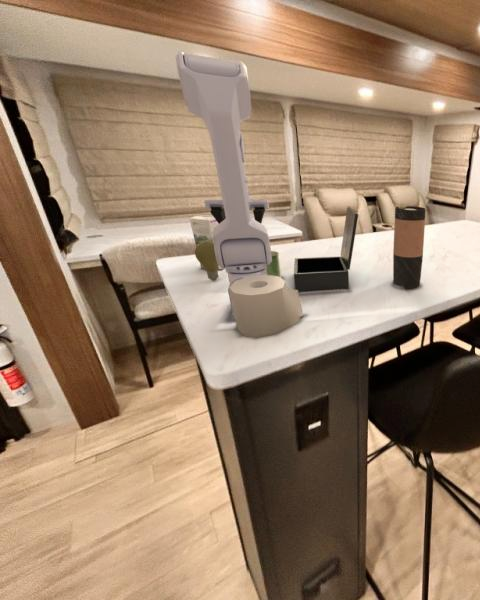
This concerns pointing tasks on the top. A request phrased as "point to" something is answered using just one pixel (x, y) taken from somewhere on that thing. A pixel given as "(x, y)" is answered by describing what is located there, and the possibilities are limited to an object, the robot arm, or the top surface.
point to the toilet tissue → (264, 305)
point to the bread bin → (320, 274)
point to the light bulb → (207, 259)
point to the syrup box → (203, 229)
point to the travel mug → (408, 246)
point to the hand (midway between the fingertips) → (243, 236)
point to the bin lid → (349, 236)
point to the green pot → (274, 265)
